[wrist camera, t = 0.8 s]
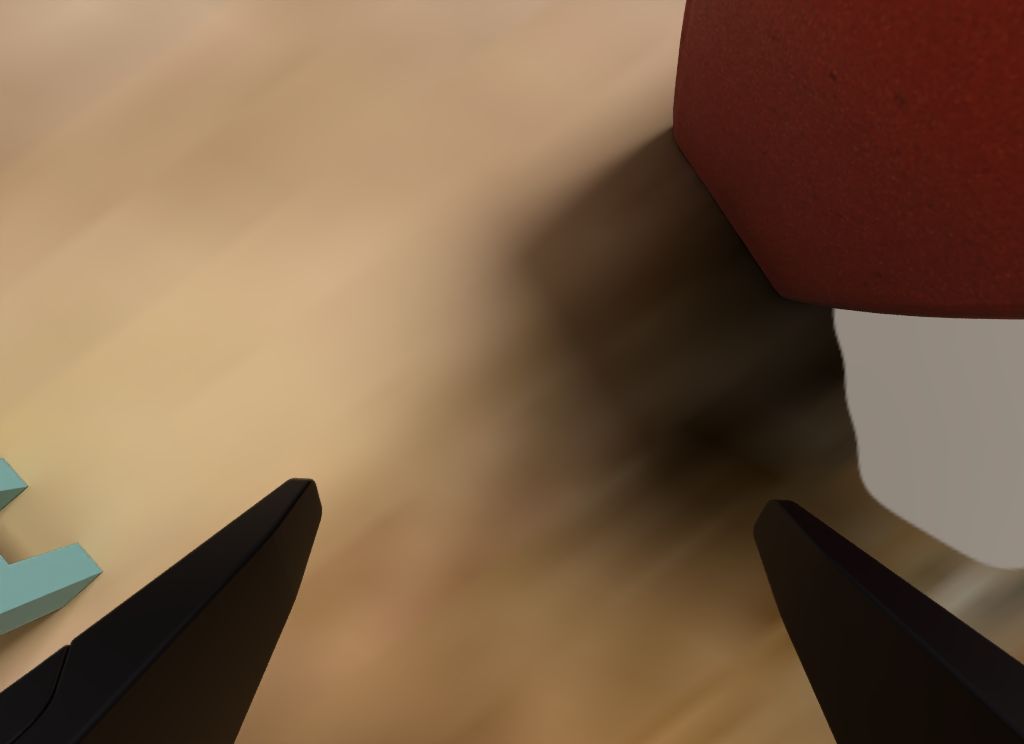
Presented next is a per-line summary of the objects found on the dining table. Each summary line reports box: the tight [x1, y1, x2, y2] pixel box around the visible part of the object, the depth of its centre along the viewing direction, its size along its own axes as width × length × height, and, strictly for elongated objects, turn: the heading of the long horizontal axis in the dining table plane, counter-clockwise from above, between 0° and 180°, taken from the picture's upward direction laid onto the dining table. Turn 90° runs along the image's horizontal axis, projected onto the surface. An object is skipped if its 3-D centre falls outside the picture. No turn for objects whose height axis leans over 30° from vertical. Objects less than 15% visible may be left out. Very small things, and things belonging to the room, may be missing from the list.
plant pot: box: [673, 0, 1024, 319], centre depth 16 cm, size 19×19×17 cm
